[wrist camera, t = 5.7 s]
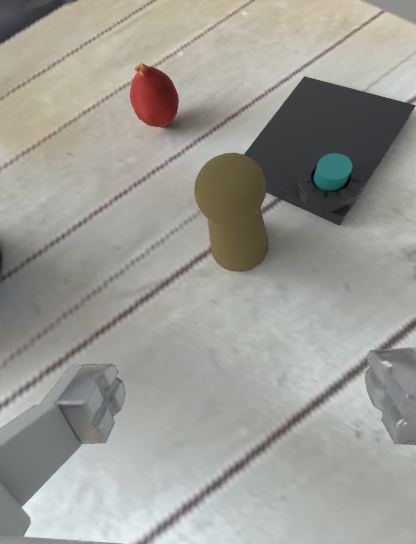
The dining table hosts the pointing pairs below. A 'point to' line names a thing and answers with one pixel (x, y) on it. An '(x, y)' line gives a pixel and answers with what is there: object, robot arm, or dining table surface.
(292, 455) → the dining table surface
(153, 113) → the onion
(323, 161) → the button
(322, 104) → the scale
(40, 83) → the dining table surface
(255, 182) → the cork
